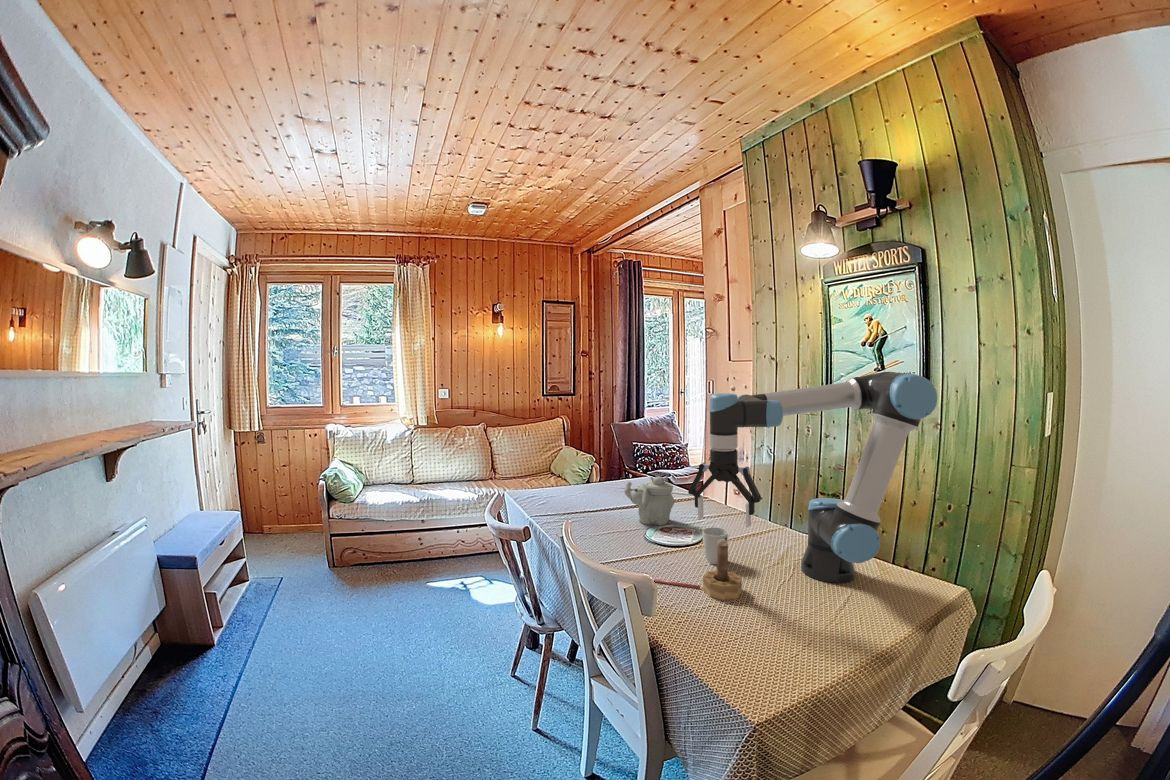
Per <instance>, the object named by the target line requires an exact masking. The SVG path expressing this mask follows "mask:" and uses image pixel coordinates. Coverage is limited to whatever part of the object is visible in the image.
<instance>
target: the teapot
mask: <svg viewBox="0 0 1170 780" xmlns="http://www.w3.org/2000/svg"><path fill="white" fill-rule="evenodd" d="M650 480H651V482H647V483H645V484H644V483H640V484H638V485H637V486H636V487H634V488H633V489H632V488H631V486H632V485H633V483H632V482H631V481H628V482H627V483H626V485H625V487H624V491H623V492H624V494H625V496H626V497H627V498H629V500H630V501H631V503H632V504H634V505H636V506H637V507H638V517H639V520H638V522H639V524H641V525H644V526H645V525H646V526H647V525H648V526H649V525H656V526H665V525H667V524H668V522H669V521H670V515H671V511H672V508H673V507H674V505H675V498H674V496H673V494H672V493H673V489H674V486H673V484H672V483H671V482H668V477H667V476H665V477H662V476H659V475H658V476H655V477H652V476H651V477H650Z"/></svg>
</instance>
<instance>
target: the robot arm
mask: <svg viewBox="0 0 1170 780" xmlns="http://www.w3.org/2000/svg"><path fill="white" fill-rule="evenodd" d="M709 402H710V403H709V411H708V412H709V447H710V450H709V464H706V462H702V463H700V464H699V465H698V470H697V472H696V476H695V477H694V479H693V481H692V484H691V485H690V487H689V489H688V491H687V493H688V494H689V495H692V496H693V497H694V507H695V508H697V520H698V521H702V520H703V518H704V495H701V494H702V493H703V492H704V491H705V490H706V489H707V488H708V487H709V486H710V484H712V483H713V481H715V480H716V481H717V482H724V483H729V482H731V484H733V485H734V486H735V488H736V489H737V490H738V491H739V493H740V494H742V496H743V497H744V498H745V500H746V503H745V528H749V527H750V526H751V524H752V523H751V521H752V517H751V516H753V515H754V514H755V512H756V511H755V509H756V508H755V507H756V506H755V504H756V503H760V502H761V500H762V496H761V494H760V492H759V490H758V487H757V486H756V484H755V481H754V480H753V477H752V476H751V472H750V467H749V466H745V467H739V465H738V462H739V461H738V455H739V454H738V449H737V448H738V443H739V442H738V441H739V440H738V428H768V429H769V428H775V427H776V428H777V427H779V426H780V425H781V424H782V423H783V419H784V417H785V416H786V417H787V416H791V415H799V414H808V413H815V412H823V411H824V412H825V411H830V410H838V409H846V408H847V409H848V408H850V409H852V410H854V411H855V410H857V411H858V410H872V411H871V415H872V418H873V419H874V423H873V426H872V428H871V431H870V434H869V435H868V438H867V440H866V441H867V442H866V444H865V446H864V449H863V452H862V455H861V457H860V460H859V462H858V463H857V464H858V465H857V467H856V470H855V473H854V475H853V477H852V480H851V483H850V485H849V488H848V491H847V494H846V496H845V499H841V498H840V499H839V498H831V497H830V498H829V497H821V498H820V497H819V498H812V499H811V500H809V502H808V508H807V516H808V517H807V522H808V523H807V546H806V549H805V551H804V554H803V557H802V559H801V563H800V570H801V571H802V572H803V573H804V575H805V576H808V577H810V578H811V579H814V580H818V581H822V582H827V583H834V584H835V583H836V584H838V583H839V584H840V583H848V582H852V581H853V580H854V579H855V576H856V575H855V574H856V569H855V566H854V564H862V563H864V562H865V563H866V562H867V561H870V560H872V559H873V558H875V557H876V555H877V554H878V552H879V551H880V548H881V546H882V545H881V542H882V541H881V537H880V534H879V532H878V530H879V527H880V524H881V522H882V521H881V518H880V516H879V514H878V512H879V510H880V508H881V504H882V502H883V499H884V497H885V494H886V492H887V489H888V487H889V484H890V482H891V479H892V477H893V474H894V472H895V468H896V466H897V463H898V460H899V458H900V456H901V454H902V451H903V448H904V445H905V442H906V440H907V437H908V436H909V433H910V432H912V431H914V430H917V429H919V428H918V427H919V425H920V423H921V420H922V419H924V418H927V417H928V416H930V415H931V414H932V413H933V412H934V411H935V409H936V407H937V403H938V392H937V390H936V388H935V385H934V384H933V383H932V381H930V380H929V379H928V378H926V377H924V376H922V375H918V374H915V373H910V372H895V371H882V372H876V373H872V374H866V375H861V376H857V377H856V376H855V377H850V378H847V380H846V382H837V383H832V384H825V385H824V384H823V385H816V386H810V387H809V386H808V387H802V388H795V389H787V390H780V391H772V392H765V393H760V394H759V393H758V394H741V395H739V396H738V394H736V393H726V392H725V393H724V392H722V393H720V392H719V393H714V394H712V395H711V396H710V398H709ZM707 471H709V472H710V474H711V475H710V476H709V477H708V479H706V481H705V482H704V483H703V484H702V485H701V486H700V487H699V488H698V489H697V487H698V486H699V484H700V481H701V480H702V478H703V476H704V473H705V472H707ZM738 473H740V474H741V476H743V478H744V480H745V483H746V484H747V486H748V488H747V487H746V486H745V485H744V484H743V482H742V481H741V480H740V478H739V477H738ZM748 489H749V490H748Z"/></svg>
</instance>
